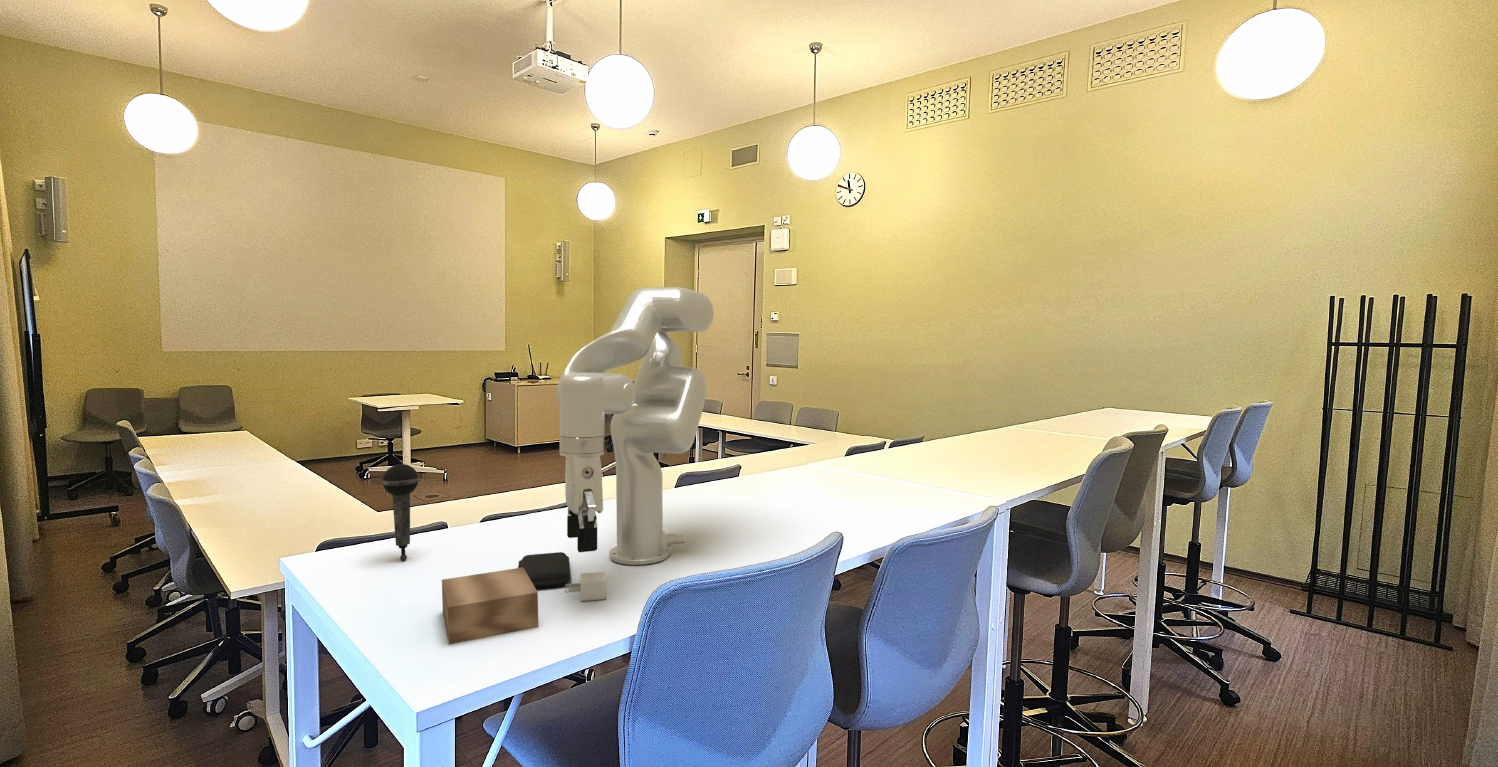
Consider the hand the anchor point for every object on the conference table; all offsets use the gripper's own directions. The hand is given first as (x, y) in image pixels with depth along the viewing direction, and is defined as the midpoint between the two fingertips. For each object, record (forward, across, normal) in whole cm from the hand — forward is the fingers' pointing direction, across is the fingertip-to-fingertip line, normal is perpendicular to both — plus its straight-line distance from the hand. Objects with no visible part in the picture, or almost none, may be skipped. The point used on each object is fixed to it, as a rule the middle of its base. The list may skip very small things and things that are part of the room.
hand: (581, 543), depth 117 cm
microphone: (+10, +36, +29) cm, 47 cm away
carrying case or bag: (+10, +15, +5) cm, 19 cm away
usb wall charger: (+10, +1, -1) cm, 10 cm away
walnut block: (+11, -2, +15) cm, 19 cm away
